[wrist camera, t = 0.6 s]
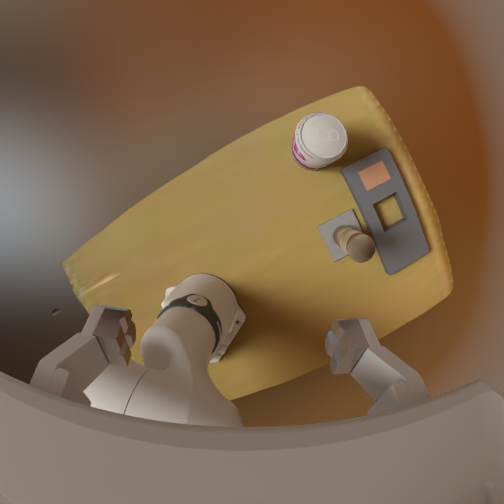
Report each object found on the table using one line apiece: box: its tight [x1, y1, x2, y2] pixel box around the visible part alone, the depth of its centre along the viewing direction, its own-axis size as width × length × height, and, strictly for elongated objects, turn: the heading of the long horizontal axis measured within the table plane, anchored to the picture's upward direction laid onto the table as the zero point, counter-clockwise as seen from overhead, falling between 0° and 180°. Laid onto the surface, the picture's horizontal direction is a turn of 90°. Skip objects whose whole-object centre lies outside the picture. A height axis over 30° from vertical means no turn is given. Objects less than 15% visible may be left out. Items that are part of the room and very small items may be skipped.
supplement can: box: [291, 112, 348, 171], centre depth 43 cm, size 8×8×15 cm
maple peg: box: [333, 225, 375, 263], centre depth 46 cm, size 4×4×13 cm
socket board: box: [340, 147, 430, 275], centre depth 50 cm, size 24×11×3 cm, turn 29°
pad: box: [317, 209, 363, 262], centre depth 53 cm, size 8×8×1 cm
